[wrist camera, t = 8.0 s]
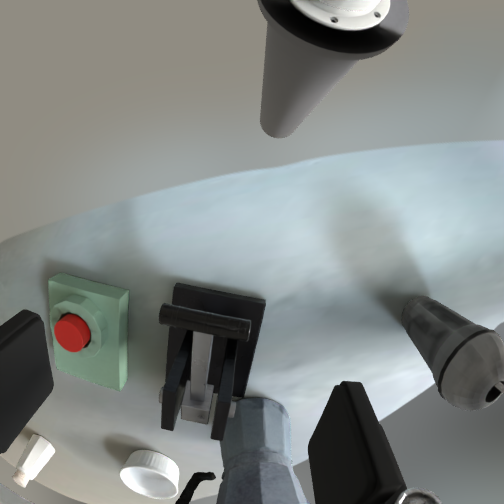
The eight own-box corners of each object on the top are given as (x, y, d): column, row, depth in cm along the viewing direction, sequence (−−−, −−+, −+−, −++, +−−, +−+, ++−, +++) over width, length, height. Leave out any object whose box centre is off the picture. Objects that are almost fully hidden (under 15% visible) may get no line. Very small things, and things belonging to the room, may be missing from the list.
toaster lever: (167, 291, 18) (154, 321, 16) (253, 308, 18) (249, 341, 16) (170, 392, 24) (164, 415, 22) (228, 403, 25) (224, 428, 23)
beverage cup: (383, 343, 32) (468, 474, 13) (398, 282, 31) (520, 393, 11) (434, 341, 32) (527, 448, 13) (450, 284, 31) (571, 373, 11)
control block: (60, 272, 31) (38, 285, 26) (129, 290, 31) (112, 306, 27) (66, 358, 34) (49, 377, 29) (127, 379, 34) (115, 401, 30)
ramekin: (116, 452, 38) (107, 471, 34) (155, 440, 37) (147, 462, 32) (154, 483, 40) (148, 502, 35) (194, 473, 38) (190, 494, 34)
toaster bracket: (176, 282, 31) (136, 339, 19) (265, 299, 31) (270, 366, 20) (167, 376, 34) (138, 449, 22) (243, 392, 34) (239, 470, 22)
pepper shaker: (27, 435, 39) (1, 471, 28) (39, 431, 38) (11, 471, 27) (47, 455, 40) (24, 492, 29) (60, 452, 39) (36, 493, 28)
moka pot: (312, 440, 36) (335, 567, 17) (199, 446, 37) (175, 570, 17) (313, 388, 34) (347, 537, 14) (183, 396, 34) (141, 538, 15)
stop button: (61, 309, 27) (52, 316, 26) (89, 318, 28) (81, 326, 26) (63, 339, 28) (55, 346, 27) (91, 348, 28) (84, 357, 27)
